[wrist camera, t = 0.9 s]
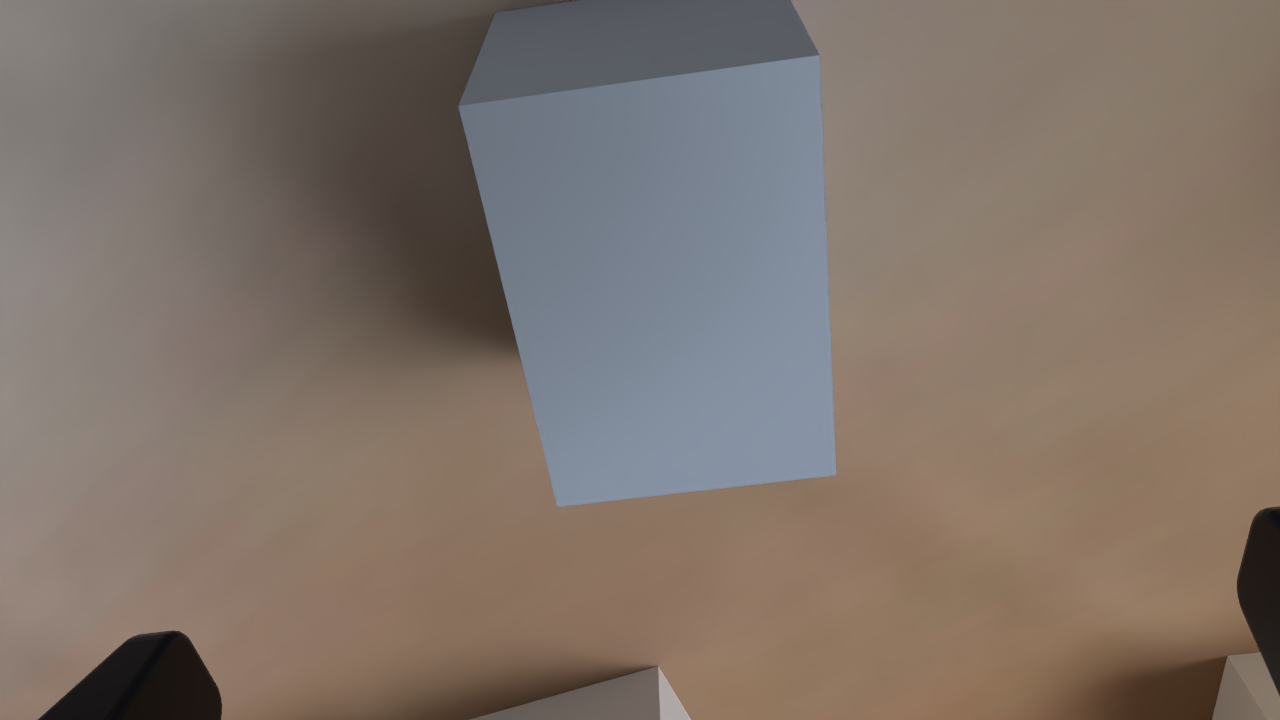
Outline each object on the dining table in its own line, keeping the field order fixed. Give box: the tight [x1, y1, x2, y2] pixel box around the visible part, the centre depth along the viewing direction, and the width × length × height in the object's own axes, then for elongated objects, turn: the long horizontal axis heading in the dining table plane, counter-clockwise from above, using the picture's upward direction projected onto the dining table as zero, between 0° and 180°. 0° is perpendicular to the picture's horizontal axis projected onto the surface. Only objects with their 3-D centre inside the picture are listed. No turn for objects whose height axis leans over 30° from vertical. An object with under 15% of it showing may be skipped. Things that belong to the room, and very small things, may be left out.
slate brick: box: [458, 0, 836, 507], centre depth 14 cm, size 6×4×4 cm, turn 8°
